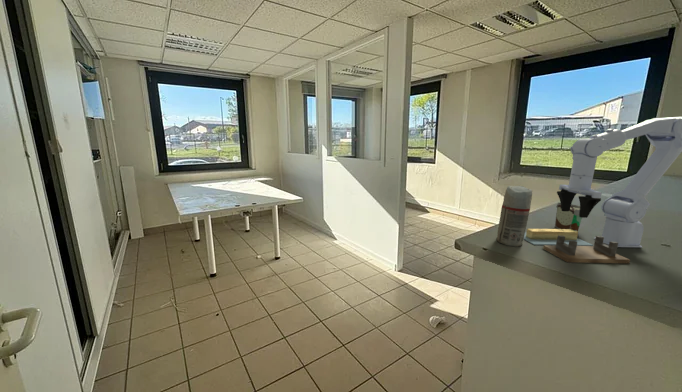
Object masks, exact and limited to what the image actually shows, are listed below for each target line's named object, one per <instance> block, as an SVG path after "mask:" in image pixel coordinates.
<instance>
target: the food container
mask: <svg viewBox="0 0 682 392" xmlns="http://www.w3.org/2000/svg"><path fill="white" fill-rule="evenodd" d="M579 212H580V205H578V204H577V205H576V204H572V203H571V207H570V210H569V211H562V210H561V203H560V202H557V204H556V213H555V214H556V215H555V221H554V222H555V223H554V228H556V229H572V230H574V231H577V232H578V233H579V229H580V225H581V224H582V219H583V218H581V217H579Z"/></svg>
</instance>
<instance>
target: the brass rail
mask: <svg viewBox="0 0 682 392" xmlns="http://www.w3.org/2000/svg"><path fill="white" fill-rule="evenodd" d="M526 232H527V233H526V237H528V238H530V239H545V240H557V237H558V235H559V236H565V240H577V238H578V235H579V231H578V232H577V231H574V230H572V229H558V228H526Z"/></svg>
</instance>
